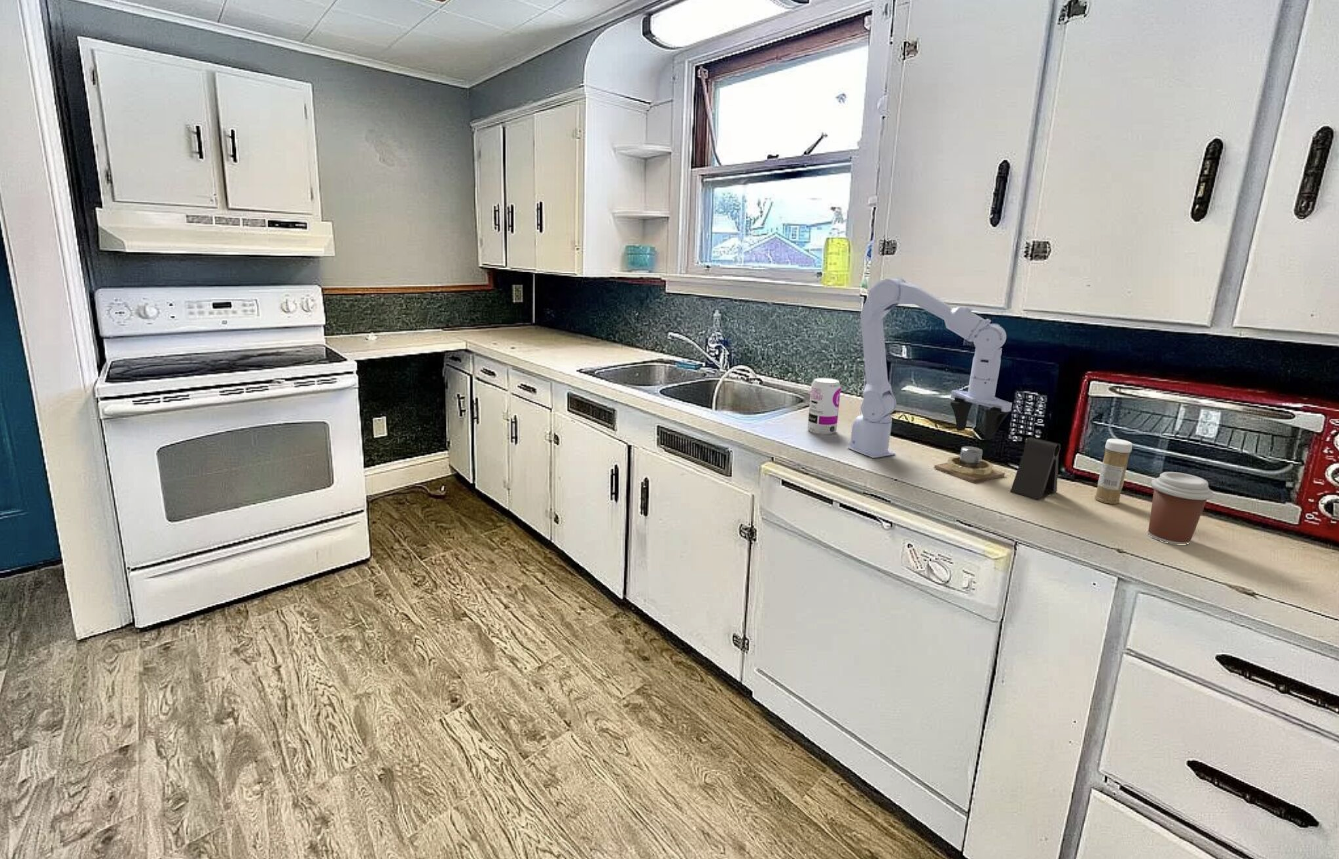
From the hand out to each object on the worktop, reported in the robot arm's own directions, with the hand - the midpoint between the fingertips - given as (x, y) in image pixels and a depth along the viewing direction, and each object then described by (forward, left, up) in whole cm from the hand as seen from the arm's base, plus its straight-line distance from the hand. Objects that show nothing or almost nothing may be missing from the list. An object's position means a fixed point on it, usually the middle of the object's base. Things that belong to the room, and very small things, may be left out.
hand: (974, 434), depth 151 cm
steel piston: (0, 0, -9) cm, 9 cm away
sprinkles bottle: (+25, +12, -10) cm, 29 cm away
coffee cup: (+41, +3, -10) cm, 42 cm away
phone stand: (+15, +2, -10) cm, 18 cm away
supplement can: (-42, -9, -10) cm, 44 cm away
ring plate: (0, 0, -9) cm, 9 cm away
